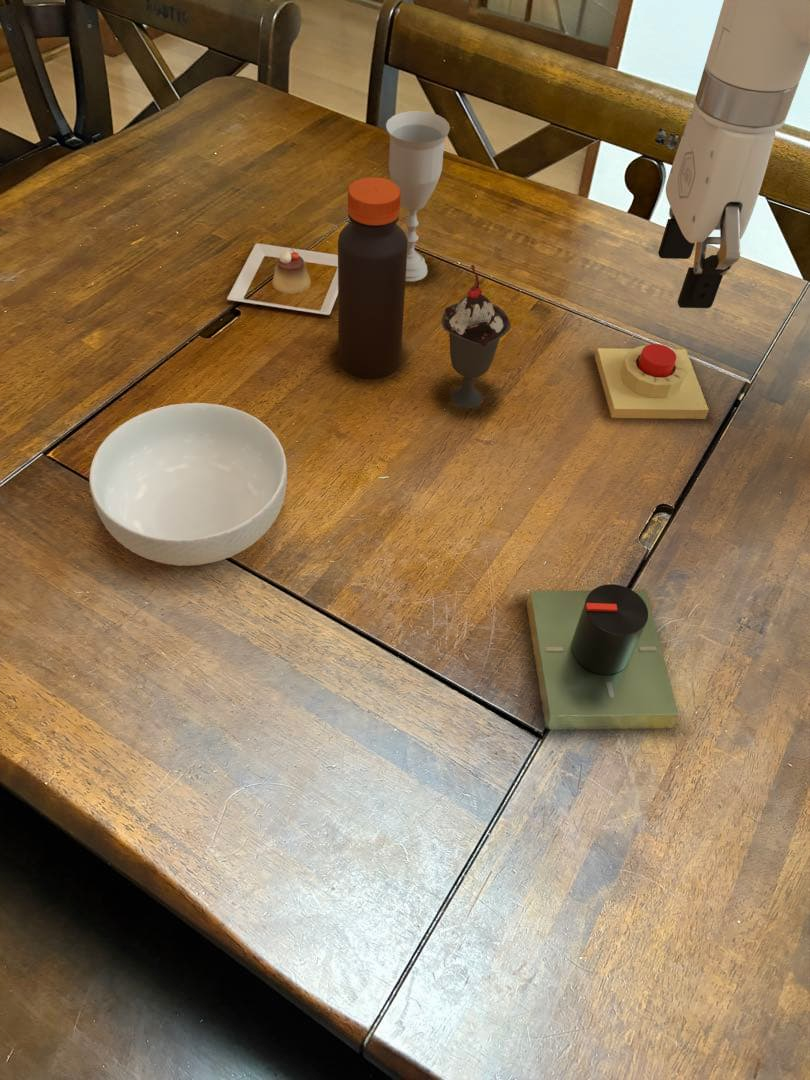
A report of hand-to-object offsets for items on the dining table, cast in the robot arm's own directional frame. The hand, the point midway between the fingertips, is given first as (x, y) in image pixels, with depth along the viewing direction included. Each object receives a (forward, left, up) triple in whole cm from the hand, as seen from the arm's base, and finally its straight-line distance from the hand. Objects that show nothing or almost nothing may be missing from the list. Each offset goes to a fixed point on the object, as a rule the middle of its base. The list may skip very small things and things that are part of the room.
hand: (683, 279), depth 88 cm
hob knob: (+12, +35, -11) cm, 39 cm away
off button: (0, 0, -11) cm, 11 cm away
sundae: (+20, +2, -14) cm, 25 cm away
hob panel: (+12, +35, -14) cm, 39 cm away
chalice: (+25, -21, -14) cm, 36 cm away
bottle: (+30, -4, -14) cm, 33 cm away
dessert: (+39, -18, -14) cm, 45 cm away
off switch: (0, 0, -14) cm, 14 cm away
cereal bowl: (+46, +19, -14) cm, 52 cm away
